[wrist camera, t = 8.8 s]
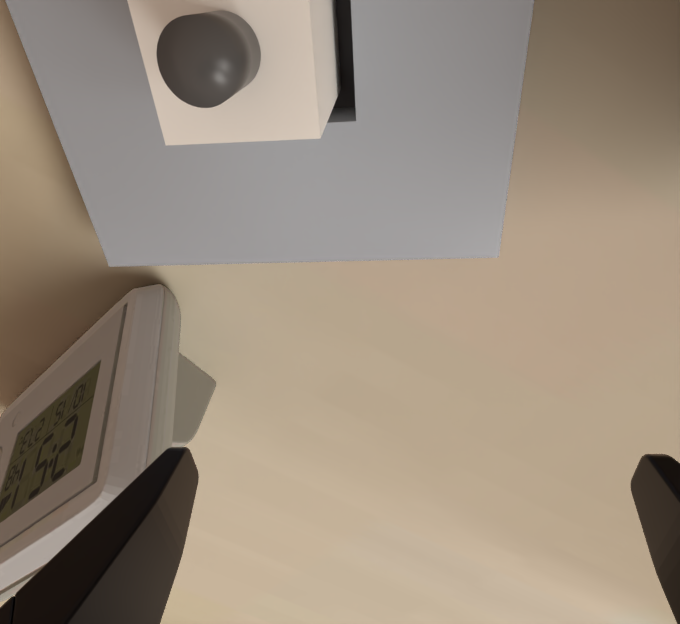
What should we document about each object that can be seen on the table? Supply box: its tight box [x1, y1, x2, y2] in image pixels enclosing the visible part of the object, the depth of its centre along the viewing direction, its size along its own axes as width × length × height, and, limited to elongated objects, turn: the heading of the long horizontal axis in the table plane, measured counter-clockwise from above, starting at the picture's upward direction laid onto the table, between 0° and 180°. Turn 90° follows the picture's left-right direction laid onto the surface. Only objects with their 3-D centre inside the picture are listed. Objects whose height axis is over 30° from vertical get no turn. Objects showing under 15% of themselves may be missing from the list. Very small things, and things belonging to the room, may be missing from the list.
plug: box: [127, 0, 341, 146], centre depth 13 cm, size 4×4×9 cm
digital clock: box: [0, 284, 216, 602], centre depth 23 cm, size 16×9×11 cm, turn 120°
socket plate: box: [5, 0, 534, 267], centre depth 16 cm, size 16×16×2 cm
